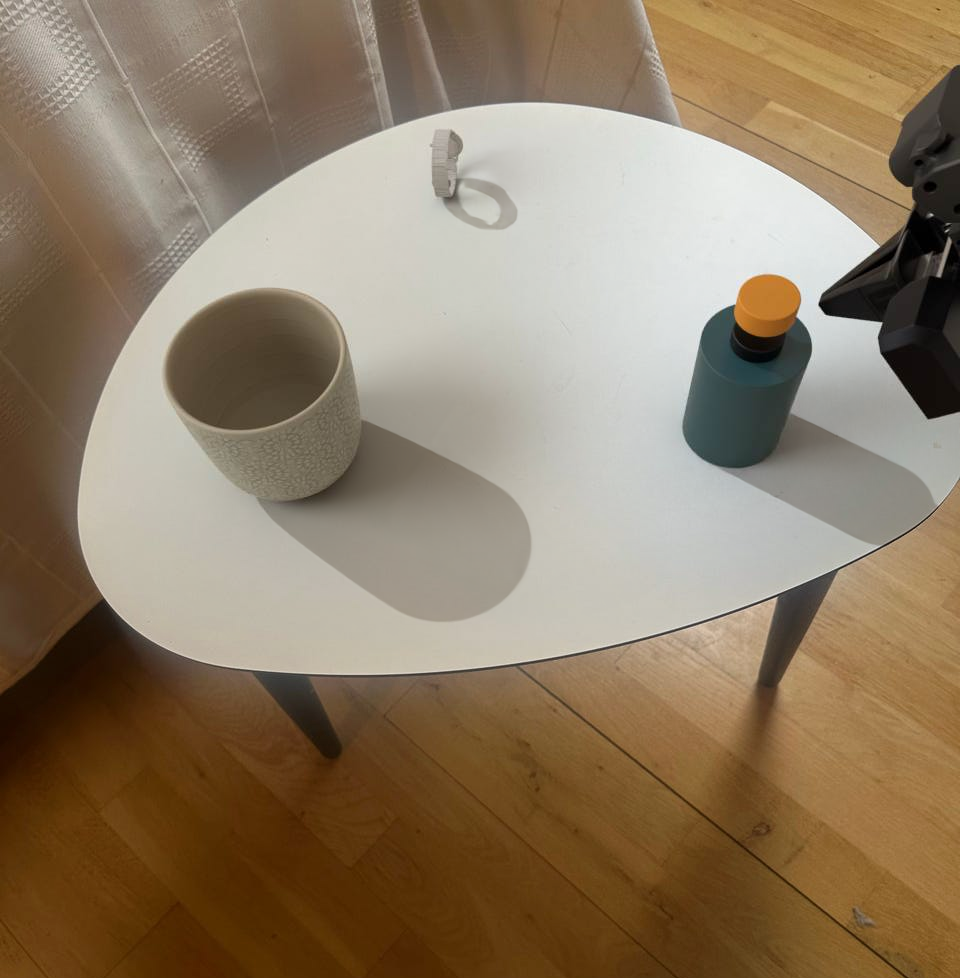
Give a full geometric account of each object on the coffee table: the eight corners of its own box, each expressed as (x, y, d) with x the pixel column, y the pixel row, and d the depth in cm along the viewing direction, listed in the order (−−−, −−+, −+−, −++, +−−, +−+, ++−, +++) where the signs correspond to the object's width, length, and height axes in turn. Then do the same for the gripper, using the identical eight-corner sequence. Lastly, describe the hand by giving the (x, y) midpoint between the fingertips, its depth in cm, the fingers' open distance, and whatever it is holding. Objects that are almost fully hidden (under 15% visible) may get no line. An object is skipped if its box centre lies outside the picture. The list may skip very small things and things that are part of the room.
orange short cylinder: (804, 302, 57) (810, 284, 56) (783, 345, 56) (789, 327, 54) (746, 284, 58) (751, 266, 56) (724, 326, 57) (729, 308, 55)
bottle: (794, 408, 68) (832, 309, 58) (759, 481, 65) (794, 390, 56) (703, 377, 69) (727, 276, 60) (667, 447, 67) (685, 353, 58)
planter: (206, 413, 71) (151, 312, 61) (357, 374, 72) (326, 267, 62) (229, 542, 66) (173, 455, 56) (391, 499, 67) (363, 405, 57)
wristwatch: (465, 169, 81) (460, 117, 76) (459, 209, 79) (453, 158, 74) (434, 168, 81) (427, 117, 76) (426, 208, 79) (419, 157, 74)
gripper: (1092, -85, 41) (794, 98, 54) (1013, 190, 35) (696, 324, 47) (1172, 112, 46) (884, 236, 59) (1117, 381, 40) (807, 457, 53)
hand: (822, 305), depth 54 cm, fingers closed
